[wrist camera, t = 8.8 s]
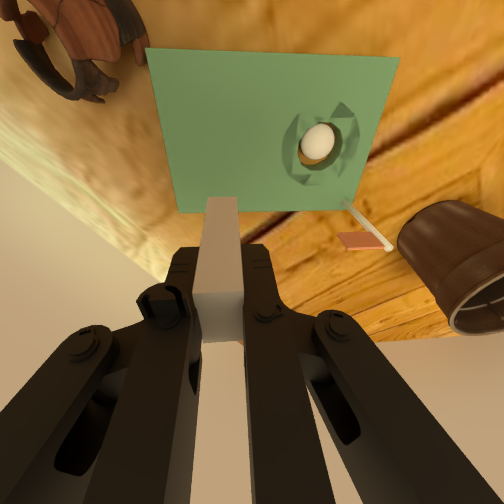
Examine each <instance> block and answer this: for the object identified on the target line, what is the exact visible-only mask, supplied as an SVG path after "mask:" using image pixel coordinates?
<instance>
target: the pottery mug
mask: <svg viewBox="0 0 504 504" xmlns="http://www.w3.org/2000/svg"><path fill="white" fill-rule="evenodd" d="M28 1H29V2H30V3H31V4H32V5H33V6H34V7H35V8H36V9H37V10H38V11H39V12H40V13H41V14H42V15H43V16H44V18H45V19H46V20H47V21H48V23H49V24H50V25H51V26H52V27H53V28H54V30H55V32H56V34H57V35H58V37H59V38H60V40H61V42H62V44H63V45H64V47H65V49H66V51H67V53H68V55H69V57H70V58H71V61H72V65H73V68H74V72H75V76H76V85H75V88H73V86H72V85H71V84H70V83H69V82H68V81H67V80H66V79H64V78H63V77H62V76H61V75H60V73H59V72H58V71H57V70H56V69H55V68H54V66H53V64H52V63H51V61H50V59H49V57H48V55H47V53H46V51H45V49H44V47H43V45H42V42H43V41H45V39H46V37H47V36H48V31H47V29H46V27H45V26H44V24H43V22H42V21H41V19H40V18H39V16H38V15H37V14H36V13H35V12H33V11H26V13H24V14H20V11H19V8H18V4H17V0H0V18H2V19H3V20H4V21H14V22H15V25H16V27H17V29H18V30H19V32H20V34H21V36H22V37H23V39H24V40H17V39H14V40H13V42H14V46H15V48H16V49H17V51H18V52H19V54H20V55H21V57H22V58H23V59H24V61H25V62H26V63H27V64H28V66H29V67H30V68H31V69H32V71H33V72H34V73H35V74H36V75H37V76H38V77H39V78H40V79H41V80H42V81H43V82H44V83H45V84H46V85H47V86H49V87H50V88H51V89H52V90H53V91H55V92H56V93H57V94H59V95H61V96H63V97H64V98H66V99H69V100H73V101H74V100H77V101H78V100H79V99H81V98H82V99H84V100H86V101H90V102H94V103H103V104H105V100H104V99H101V98H99V97H97V96H96V95H98V96H100V95H106V94H108V93H110V92H116V90H117V88H118V86H119V81H118V80H117V79H115V78H109V77H108V76H107V75H106V74H105V73H103V72H102V71H101V70H100V69H99V68H98V67H97V66H96V65H95V64H94V63H93V62H92V59H93V60H97V61H106V62H113V63H115V62H116V61H117V60H119V59H120V57H121V46H125V45H126V44H127V43H128V42H130V41H132V45H133V48H134V53H135V60H136V64H137V65H138V66H143V65H144V64H145V63H147V62H148V61H147V56H146V51H145V48H150V47H149V41H148V38H147V34H146V31H145V27H144V25H143V23H142V20H141V18H140V15H139V13H138V12H137V10H136V8H135V7H134V5H133V3H132V2H131V0H28Z"/></svg>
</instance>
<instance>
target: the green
mask: <svg viewBox="0 0 504 504" xmlns="http://www.w3.org/2000/svg"><path fill="white" fill-rule="evenodd" d="M145 51H146V56H147V61H148V66H149V71H150V76H151V81H152V85H153V90H154V95H155V100H156V105H157V110H158V115H159V119H160V124H161V129H162V134H163V139H164V144H165V149H166V153H167V158H168V163H169V168H170V173H171V178H172V183H173V187H174V192H175V197H176V202H177V207H178V212H179V213H205V212H206V206H207V200H208V197H237V207H238V212H267V211H316V210H348V209H347V208H346V207H345V206H344V205H343V204H342V203H341V199H343V198H346V199H347V200H348V201H349V202H350V203H351V204H352V203H353V200H354V197H355V194H356V191H357V188H358V185H359V182H360V179H361V176H362V173H363V170H364V167H365V164H366V161H367V158H368V155H369V152H370V149H371V146H372V143H373V139H374V136H375V133H376V130H377V127H378V124H379V121H380V118H381V115H382V112H383V109H384V106H385V103H386V100H387V97H388V94H389V91H390V88H391V85H392V82H393V79H394V76H395V73H396V70H397V67H398V64H399V61H400V57H374V56H348V55H322V54H296V53H269V52H243V51H217V50H191V49H165V48H145ZM318 122H328V123H329V124H330V125H332V126H333V130H334V134H335V137H336V138H335V142H334V146H333V150H332V151H331V152H330V154H329V155H328V156H327V158H326V159H325V160H323V161H322V162H320V163H318V164H316V165H304V164H303V163H301V162H300V160H299V157H298V155H297V153H298V146H299V141H300V139H301V138H302V136H303V135H304V133H305V132H306V130H307V129H308V128H310V127H312V126H313V125H315V124H317V123H318Z"/></svg>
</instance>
